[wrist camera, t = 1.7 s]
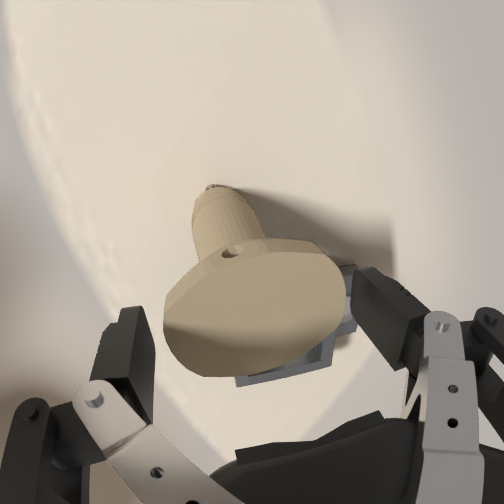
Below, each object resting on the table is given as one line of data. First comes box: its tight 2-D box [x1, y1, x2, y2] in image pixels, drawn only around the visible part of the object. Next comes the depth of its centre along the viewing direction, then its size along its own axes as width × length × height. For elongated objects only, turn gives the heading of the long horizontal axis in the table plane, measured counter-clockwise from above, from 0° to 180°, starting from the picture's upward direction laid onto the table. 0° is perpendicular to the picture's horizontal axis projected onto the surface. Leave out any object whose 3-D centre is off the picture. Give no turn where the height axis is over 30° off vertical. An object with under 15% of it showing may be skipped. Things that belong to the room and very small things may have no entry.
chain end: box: [248, 264, 360, 385], centre depth 27 cm, size 10×12×4 cm
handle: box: [163, 184, 346, 377], centre depth 17 cm, size 5×6×15 cm
